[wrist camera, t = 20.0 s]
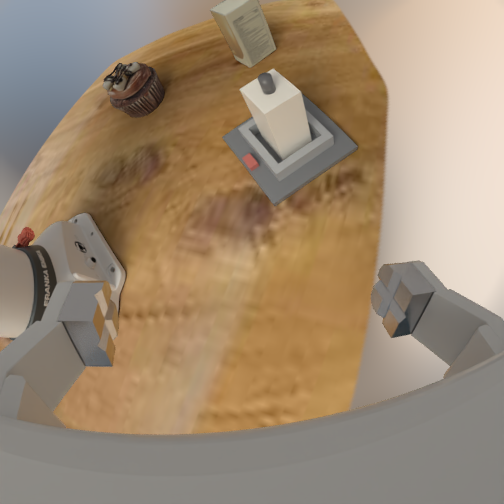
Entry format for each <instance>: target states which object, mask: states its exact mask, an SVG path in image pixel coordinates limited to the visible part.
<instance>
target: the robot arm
mask: <svg viewBox="0 0 504 504" xmlns="http://www.w3.org/2000/svg"><path fill="white" fill-rule="evenodd" d="M34 236H35V235H34V232H33V230H31V228H30V229H29V227H25V228H24V229H23V230H22V232H21V234H20V235H18V241H19V242H18V243H17V245H14V246H13V247H12V248H11V247H7V246H4V245H1V244H0V337H8V338H10V339H11V340H13V341H12V342H11V343H10V344H9V345H8V346H7V347H6V348H4V349H3V350H2V351H1V352H0V504H504V321H503V319H502V318H501V317H499V316H497V315H496V314H494V313H492V312H491V311H489V310H487V309H485V308H484V307H482V306H480V305H478V304H476V303H475V302H473V301H471V300H469V299H467V298H466V297H464V296H462V295H460V294H458V293H457V292H455V291H453V290H451V289H449V290H447V288H446V287H445V286H444V285H443V284H442V283H441V281H440V280H439V279H438V278H437V277H436V276H435V275H434V274H433V273H432V271H431V270H430V269H429V268H428V267H427V266H426V265H425V264H424V262H421V261H412V262H407V263H395V264H384V265H383V266H382V267H381V268H380V270H379V273H378V277H379V279H380V280H379V281H378V282H377V283H376V284H375V285H374V287H373V290H372V293H371V303H372V306H373V309H374V310H375V312H376V314H378V315H379V316H381V317H383V325H384V327H385V328H386V330H387V332H388V333H389V335H390V337H391V338H395V337H399V336H404V335H409V334H412V336H413V337H414V338H415V339H417V340H418V341H419V342H420V343H422V344H423V345H424V346H426V347H427V348H428V349H429V350H431V351H432V352H433V353H434V354H436V355H437V356H438V357H439V358H441V359H442V360H443V361H444V362H446V363H447V364H448V365H449V366H450V368H449V369H448V370H447V371H446V373H445V374H444V377H443V378H444V379H442V380H440V381H437V382H435V383H432V384H430V385H427V386H425V387H422V388H419V389H416V390H414V391H411V392H408V393H405V394H403V395H399V396H396V397H393V398H390V399H387V400H384V401H381V402H377V403H374V404H370V405H367V406H363V407H360V408H356V409H352V410H348V411H344V412H340V413H336V414H332V415H328V416H323V417H319V418H314V419H309V420H304V421H299V422H293V423H288V424H282V425H276V426H269V427H262V428H254V429H246V430H237V431H227V432H215V433H199V434H168V435H152V434H122V433H106V432H95V431H85V430H76V429H69V428H66V426H65V425H64V423H63V422H62V421H61V420H60V419H59V418H58V417H57V416H56V415H55V414H54V413H53V411H54V409H55V408H56V406H57V405H58V404H59V402H60V401H61V400H62V398H63V397H64V396H65V394H66V393H67V392H68V390H69V389H70V388H71V386H72V385H73V384H74V382H75V381H76V380H77V378H78V377H79V376H80V375H81V373H82V372H83V371H84V369H85V366H99V367H112V366H113V360H114V354H115V345H114V343H113V340H114V339H115V338H116V337H117V336H118V329H119V317H118V309H119V296H120V292H121V290H122V287H123V284H124V282H125V277H126V274H125V270H124V269H123V267H122V266H121V264H120V263H119V261H118V260H117V258H116V256H115V255H114V253H113V252H112V250H111V249H110V247H109V245H108V244H107V242H106V240H105V239H104V237H103V236H102V234H101V232H100V231H99V229H98V227H97V226H96V224H95V222H94V220H93V219H92V217H91V216H90V214H87V213H82V214H79V215H76V216H75V217H73V218H72V219H70V220H69V221H68V222H67V221H58V222H55V223H53V224H51V225H50V226H49V227H47V228H46V229H45V230H44V231H43V232H42V233H41V234H40V236H39V237H38V238H37V239H36V240H35V242H34V243H33V244H32V245H31V246H28V245H29V242H30V241H32V240H33V239H34ZM24 246H25V247H24ZM114 268H115V271H114Z"/></svg>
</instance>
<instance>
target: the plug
mask: <svg viewBox="0 0 504 504" xmlns="http://www.w3.org/2000/svg"><path fill="white" fill-rule="evenodd" d="M239 90H240V92H241V94H242V96H243V98H244V100H245V102H246V104H247V106H248V108H249V110H250V112H251V114H252V116H253V118H254V120H255V123H256V125H257V127H258V129H259V131H260V133H261V135H262V137H263V139H264V140H265V141H266V142H267V143H268V144H269V145H270V146H271V148H272V149H273V150H274V151H275V152H276V153H277V155H278V156H279V157H280V158H281V159H282V160H285V159H286V158H288V157H289V156H291V155H292V154H294V153H295V152H297V151H298V150H300V149H301V148H303V147H304V146H306V145H307V144H309V143H310V142H312V140H311V135H310V130H309V125H308V120H307V116H306V111H305V107H304V102H303V98H302V94H301V91H300V90H299V89H297V88H296V87H295V86H294V85H293V84H291V83H290V82H289V81H288V80H287V79H285V78H284V77H283V76H282V75H281V74H279V73H278V72H277V71H276V70H274V69H272V70H270V71H268V72H267V73H262V74H260V75H259V76H258V78H257V79H255V80H253V81H252V82H250V83H249V84H247V85H245V86H244V87H242V88H241V89H239Z"/></svg>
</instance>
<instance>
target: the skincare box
mask: <svg viewBox="0 0 504 504" xmlns="http://www.w3.org/2000/svg"><path fill="white" fill-rule="evenodd" d="M210 11H211V13H212V15H213V17H214V19H215V21H216V22H217V24H218V26H219V28H220V30H221V32H222V34H223V35H224V37H225V39H226V41H227V43H228V45H229V47H230V49H231V51H232V53H233V55H234V57H235V59H236V60H238V61H239V62H241V63H242V64H244V65H246V66H248V67H250V68H251V67H252V66H254V65H255V64H257V63H258V62H259V61H261V60H262V59H264V58H265V57H266V56H268V55H269V54H270V53H272V52H273V51H275V50H276V46H275V44H274V41H273V38H272V35H271V32H270V30H269V27H268V24H267V22H266V19H265V16H264V14H263V11H262V9H261V6H260V4H259V1H258V0H225V1H223V2H221V3H220V4H218V5H217V6H215V7H214V8H212V9H210Z"/></svg>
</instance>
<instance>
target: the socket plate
mask: <svg viewBox="0 0 504 504" xmlns="http://www.w3.org/2000/svg"><path fill="white" fill-rule="evenodd" d="M301 94H302V93H301ZM302 98H303V102H304V107H305V111H306V116H307V120H308V125H309V130H310V135H311V140H312V142H310V143H309V144H307V145H306V146H304V147H303V148H301V149H300V150H298V151H297V152H295V153H294V154H292V155H291V156H289V157H288V158H286V159H285V160H282V159H281V158H280V157H279V156H278V155H277V153H276V152H275V151H274V150H273V149H272V148H271V146H270V145H269V144H268V143H267V142H266V141H265V140H264V139H263V137H262V135H261V133H260V131H259V129H258V127H257V125H256V123H255V120H254V118H253V117H251V118H250V119H248V120H246V121H245V122H244V123H242V124H241V125H239V126H238V127H236V128H235V129H233V130H232V131H230V132H229V133H227V134H226V135H225V136H223V137H222V138H223V139H224V141H225V142H226V143H227V144H228V146H229V147H230V148H231V150H232V151H233V152H234V153H235V155H236V156H237V157H238V159H239V160H240V161H241V162H242V164H243V165H244V166H245V168H246V169H247V170H248V172H249V173H250V174H251V175H252V177H253V178H254V179H255V181H256V182H257V183H258V185H259V186H260V187H261V189H262V190H263V191H264V193H265V194H266V195H267V197H268V198H269V199H270V201H271V202H272V203H273V205H274V206H276V205H278V204H279V203H281V202H282V201H283V200H285V199H286V198H288V197H289V196H291V195H292V194H293V193H295V192H296V191H298V190H299V189H301V188H302V187H303V186H305V185H306V184H308V183H309V182H311V181H312V180H314V179H315V178H316V177H318V176H319V175H321V174H322V173H324V172H325V171H327V170H328V169H330V168H331V167H332V166H334V165H335V164H337V163H338V162H340V161H341V160H343V159H344V158H346V157H347V156H349V155H350V154H352V153H353V152H355V151H356V150H357V149H358V146H357V145H356V144H355V143H354V142H353V141H352V140H351V139H350V138H349V137H348V136H347V135H346V134H345V133H344V132H343V131H342V130H341V129H340V128H339V127H338V126H337V125H336V124H335V123H334V122H333V121H332V120H331V119H330V118H329V117H327V116H326V115H325V114H324V113H323V112H322V111H321V110H320V109H319V108H318V107H317V106H316V105H314V104H313V103H312V102H311V101H310V100H309V99H308V98H307V97H305V96H304V95H303V94H302Z"/></svg>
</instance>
